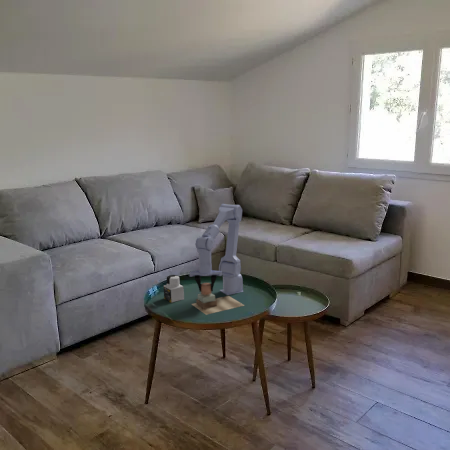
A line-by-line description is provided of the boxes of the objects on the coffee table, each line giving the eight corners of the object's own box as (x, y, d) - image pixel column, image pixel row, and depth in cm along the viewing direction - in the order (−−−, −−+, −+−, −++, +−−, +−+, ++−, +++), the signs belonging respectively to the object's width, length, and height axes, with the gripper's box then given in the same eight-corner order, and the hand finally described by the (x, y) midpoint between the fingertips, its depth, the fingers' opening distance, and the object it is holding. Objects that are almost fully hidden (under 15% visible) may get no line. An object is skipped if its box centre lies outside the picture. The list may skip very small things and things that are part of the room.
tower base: (209, 301, 231) (209, 296, 230) (216, 305, 225) (216, 300, 224) (196, 304, 227) (196, 299, 227) (203, 309, 221) (203, 303, 221)
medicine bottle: (163, 299, 236) (162, 275, 233) (176, 296, 240) (175, 272, 237) (171, 303, 230) (170, 279, 228) (184, 300, 234) (183, 276, 232)
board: (228, 296, 237) (228, 295, 237) (244, 306, 224) (244, 305, 224) (191, 305, 228) (191, 304, 228) (206, 315, 215) (206, 314, 215)
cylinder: (208, 290, 228) (208, 282, 227) (213, 293, 224) (213, 285, 223) (199, 292, 225) (199, 284, 225) (204, 295, 221) (203, 287, 220)
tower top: (209, 296, 229) (209, 291, 229) (215, 300, 224) (215, 295, 224) (197, 299, 226) (197, 294, 226) (203, 303, 221) (203, 298, 221)
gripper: (188, 265, 218) (189, 294, 221) (221, 264, 217) (221, 293, 220) (189, 260, 225) (190, 288, 228) (221, 260, 224) (222, 288, 227)
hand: (206, 290), depth 224 cm, fingers closed on cylinder, 5 cm apart
